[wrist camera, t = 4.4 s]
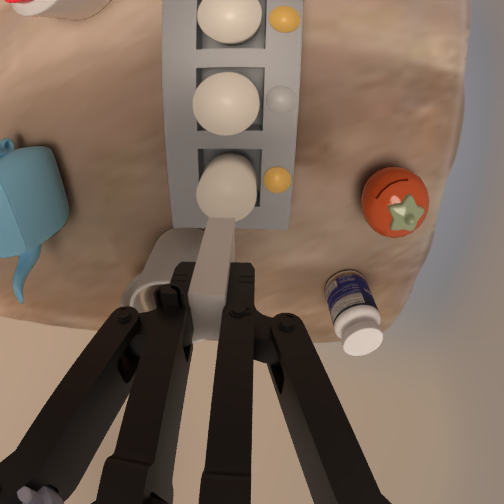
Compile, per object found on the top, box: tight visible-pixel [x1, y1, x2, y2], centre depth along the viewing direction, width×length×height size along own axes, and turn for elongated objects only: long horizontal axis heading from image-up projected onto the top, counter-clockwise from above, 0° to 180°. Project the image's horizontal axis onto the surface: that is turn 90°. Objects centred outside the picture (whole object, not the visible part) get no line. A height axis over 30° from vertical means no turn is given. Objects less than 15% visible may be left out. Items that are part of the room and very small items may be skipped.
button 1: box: [196, 153, 257, 221], centre depth 25 cm, size 5×5×4 cm
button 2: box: [197, 0, 262, 46], centre depth 19 cm, size 5×5×4 cm
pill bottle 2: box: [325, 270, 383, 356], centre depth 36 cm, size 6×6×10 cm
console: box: [162, 0, 303, 230], centre depth 25 cm, size 11×24×5 cm, turn 179°
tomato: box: [361, 167, 429, 238], centre depth 29 cm, size 7×7×8 cm
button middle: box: [192, 72, 260, 136], centre depth 21 cm, size 5×5×4 cm
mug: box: [121, 228, 205, 344], centre depth 33 cm, size 11×10×10 cm
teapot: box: [0, 138, 70, 304], centre depth 27 cm, size 12×18×12 cm
